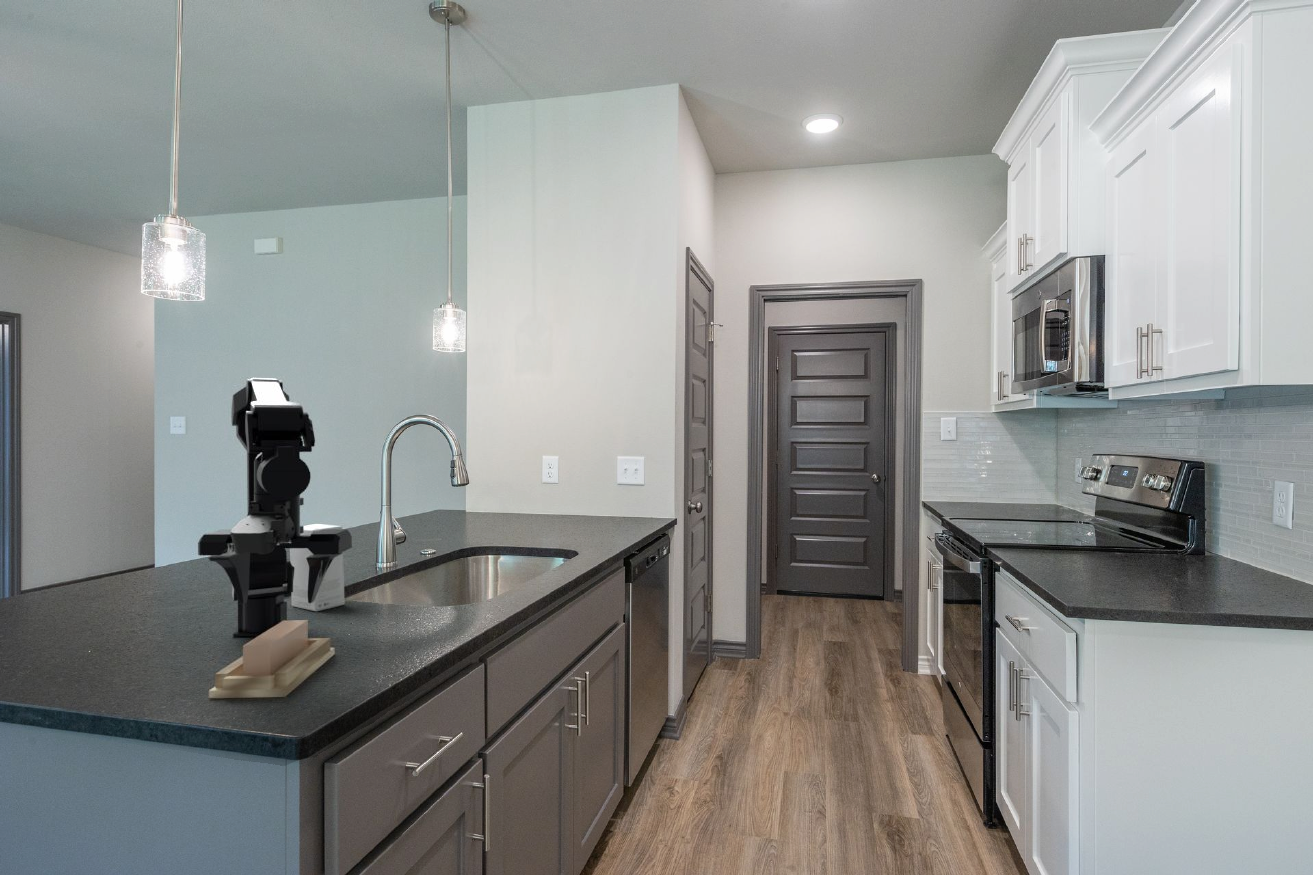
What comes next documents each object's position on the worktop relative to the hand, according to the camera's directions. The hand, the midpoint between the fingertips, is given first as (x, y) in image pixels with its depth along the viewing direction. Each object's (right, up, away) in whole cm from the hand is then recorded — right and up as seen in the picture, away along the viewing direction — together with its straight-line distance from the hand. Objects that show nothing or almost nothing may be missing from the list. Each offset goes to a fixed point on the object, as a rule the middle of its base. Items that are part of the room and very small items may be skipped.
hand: (277, 602), depth 100 cm
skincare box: (-12, -10, +37) cm, 41 cm away
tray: (0, -10, 0) cm, 10 cm away
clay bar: (0, -9, 0) cm, 9 cm away
